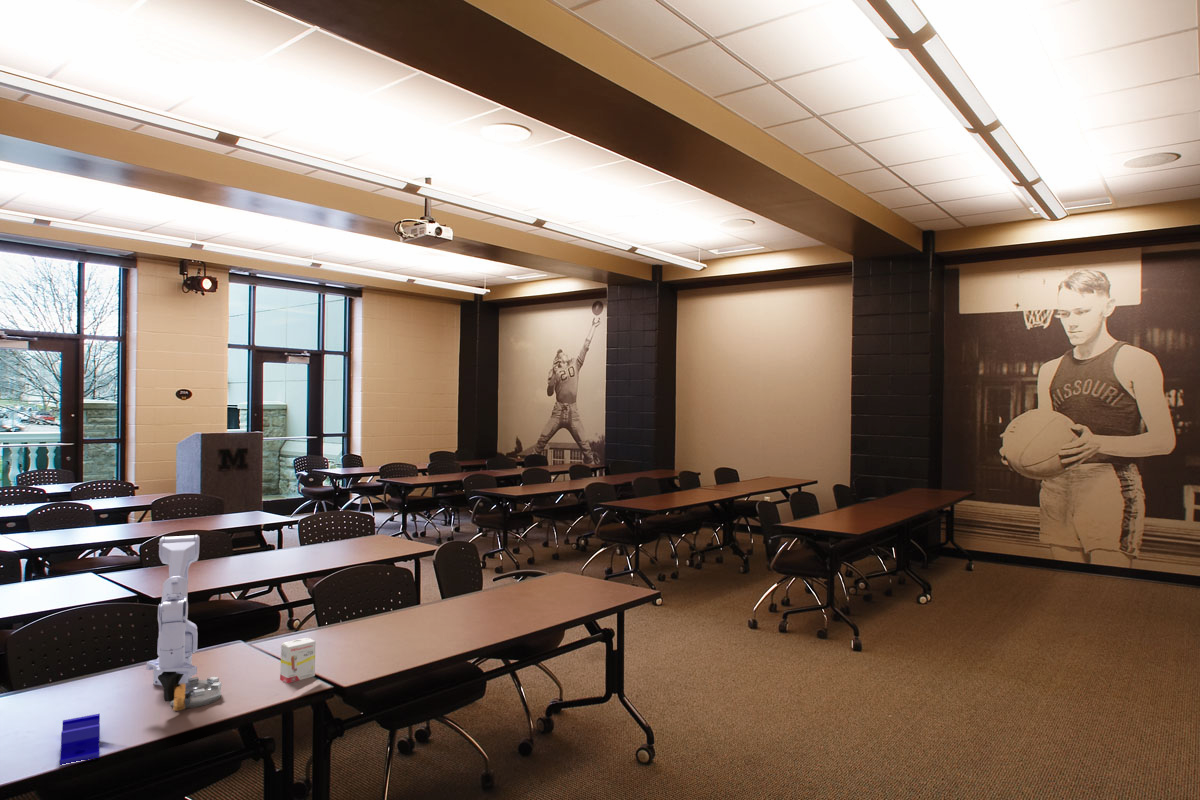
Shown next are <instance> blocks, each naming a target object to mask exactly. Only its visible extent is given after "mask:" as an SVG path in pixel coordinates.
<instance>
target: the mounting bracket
mask: <svg viewBox="0 0 1200 800" xmlns="http://www.w3.org/2000/svg"><path fill="white" fill-rule="evenodd" d="M100 717H101V715H100V713H95V714H90V715H85V716H84V715H83V716H80V717H74V718H69V719H63V720H62V729H61V735H60V754H59V755H60V756H59V766H60V765H62V764H66V763H71V762H76V761H81V760H88V759H93V758H98V759H99V758H100V731H101V730H100V729H101V728H100V727H101V725H100V723H101V722H100V721H101V720H100V719H101V718H100ZM93 760H94V759H93ZM88 761H89V760H88Z"/></svg>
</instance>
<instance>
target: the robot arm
mask: <svg viewBox="0 0 1200 800" xmlns="http://www.w3.org/2000/svg"><path fill="white" fill-rule="evenodd" d="M158 545H159V546H158V557H159V560H160V561H161V563H162V564H165V565H167V566H168V578H167V579H166V580H165V581H164V582H163V584H162V591H161V592H162V594H161V601H160V603H159V604H158V606H157V622H158V638H157V650H156V651H157V656H158V657H157V658H156V659H152V660H149V661H147V662H146V664H145V665H146V669H145V670H146V671H152V672H153V673H152V674H153V676H152V678H153V679H152V685H156V686H161V687H162V688H163V698H164V702H167V703H170V702H171V701H173V699H174V685H176V684H178V683H188V679H189V678H192V677H194V676H195V675H197V674H198V666H196V665H193V663H192V661H193V660H192V659H193V654H195V653H196V652H197V651H198V635H199V634H198V626H197V624H196V623H194V622H192V621H191V620H189V619H188V618H189V617H188V615H189V602H188V598H189V597H188V591H189V569H190V566H191V565H192V563H193V564H194V563H195V562H198V560H199V555H200V535H198V534H195V535H194V534H193V535H179V536H177V535H176V536H174V535H173V536H162V537H161V538H159V543H158Z"/></svg>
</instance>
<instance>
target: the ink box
mask: <svg viewBox="0 0 1200 800" xmlns="http://www.w3.org/2000/svg"><path fill="white" fill-rule="evenodd" d="M279 669H280V671H279V672H280V673H279V679H280V681H282V682H284V683H286V684H290V683H293V682H298V681H301V680H304V679H305V680H306V679H308V678H311V677H315V676H316V672H315V671H316V640H314V639H312V638H310V637H304V638H298V639H294V640H289V641H284V642H282V643H281V645H280V668H279Z"/></svg>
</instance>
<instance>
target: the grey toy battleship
mask: <svg viewBox="0 0 1200 800" xmlns="http://www.w3.org/2000/svg"><path fill="white" fill-rule="evenodd" d="M222 684H223V683H222V681H220V677H218V676H210V677H208V678H207V679H200V678H199V677H198V676H195V677H194V676H193V677H191V678H189V679H188V683H178V684H176V685H174V699H173V701H171V702H169V704H170V706H171V707H173V708H172V711H176V712H178V711H182V710H185V709H191V708H199V707H203V706H207V705H210V704H212V703H214V702H216V701H218V700H219V699H220V698H221V696H222V686H223V685H222Z"/></svg>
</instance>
